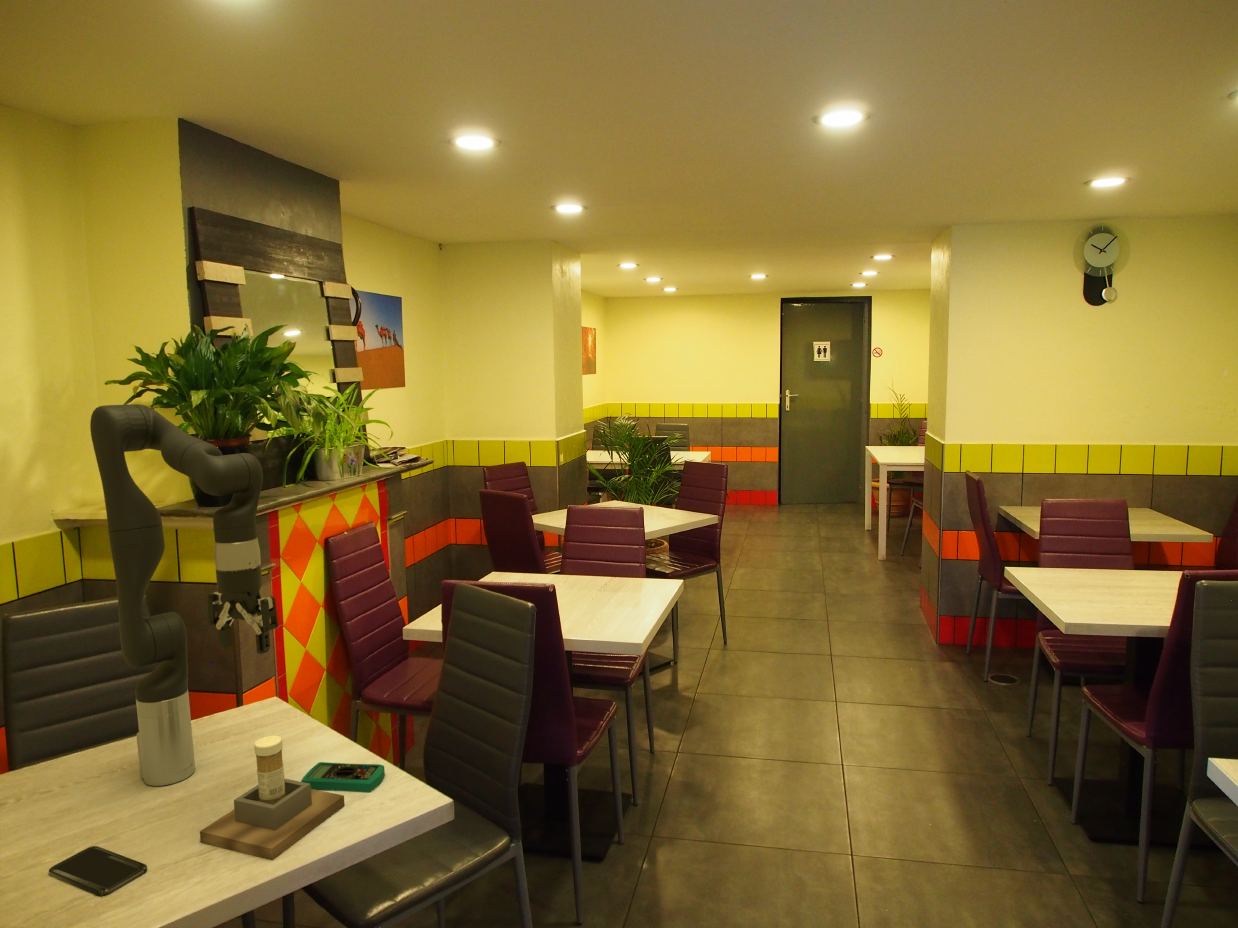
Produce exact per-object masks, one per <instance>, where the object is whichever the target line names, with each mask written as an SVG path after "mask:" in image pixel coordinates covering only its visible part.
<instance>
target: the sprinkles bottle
mask: <svg viewBox="0 0 1238 928" xmlns="http://www.w3.org/2000/svg"><path fill="white" fill-rule="evenodd" d="M253 748H254V754H255V757H256V767H257V769H256V772H257V774H256V775H257V785H258V788H259V797H260V802H263V803H267V804H272V805H274V804H275V803H277V802H278V801H280V800H281V799H283V798H284V797H286V796H285V779H286V778H285V771H284V763H283V762H284V761H283V740H282V737H281V736H278V735H267V736H264V737H261V738H259V739H257V740H256V741H254V746H253Z"/></svg>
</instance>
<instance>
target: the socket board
mask: <svg viewBox="0 0 1238 928" xmlns="http://www.w3.org/2000/svg"><path fill="white" fill-rule="evenodd" d="M311 798H312V805H310V806H309V807H308V808H306V809H305V810H303V811H302V812H301V813H299V814H298V815H296V816H295V817H294V818H292V819H291V820H289V821H288V822H287V823H285V824H284V825H282V826H281V827H280V828H278V829H277V830H271V829H267V828H262V827H258V826H254V825H249V824H245V823H241V822H236V821H235V809H234V808H233V809H231V811H228V812H227V813H226V814H224V815H223V816H221V817H220V818H218V819H217V820H215V821H213V822H211V823H210V824H208V825H207V826H205V827H204V828H202V829H201V830H199V838H200V839H199V840H200V843H202V844H207V845H211V846H214V847H215V846H216V847H219V848H223V849H225V850H231V851H235V852H239V853H243V854H245V855H246V854H247V855H250V856H251V855H252V856H256V857H259V858H263V859H267V860H270V861H271V860H272V861H273V860H275V859H276V858H277V857H279V855H281V854H283V853H284V852H285V851H287V850H288V849H289V848H290V847H292V846H293V845H294V844H296V843H297V842H298V841H299V840H301V839H302V838H304V837H305V836H306V835H308V834H309V833H311V831H313V830H314V829H316V828H317V827H318V826H320V825H321V824H322V823H323V822H325V821H326V820H327V819H329V818H330V817H332V816H333V815H334V814H335V813H337V812H338V811H339V810H341V809H342V808H343V807H344V806H345V795H343V794H339V793H333V792H328V791H326V790H315V789H311Z"/></svg>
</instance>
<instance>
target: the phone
mask: <svg viewBox="0 0 1238 928" xmlns="http://www.w3.org/2000/svg"><path fill="white" fill-rule="evenodd" d="M147 872H148V865H147V864H145V863H143V862H140V861H138V860H136V859H132V858H129V857H128V856H125V855H122V854H119V853H116V852H114V851H111V850H109V849H107V848H106V849H105V848H103V847H101V846H98V845H94V846H93V845H92V846H88V847H87V848H85V849H83V850H81V851H79V852H77V853H75V854H74V855H71V856H70V857H67V858H66V859H64V860H62V861H60V862H58V863H57V864H53V865H52V866H51V867H50V868H49V869H48V873H49V876H51V877H52V878H54V879H58V880H60V881H62V882H65V883H67V884H69V885H71V886H74V887H76V888H78V889H80V890H83V891H86V892H88V893H91V894H93V895H95V896H97V897H107V896H110V895H111V894H112V893H114V892H116V891H118V890H120V889H122V888H123V887H125V886H126V885H128V884H130V883H131V882H133V881H135V880H136V879H138V878H140V877H142V876H143V875H145V874H146V873H147Z"/></svg>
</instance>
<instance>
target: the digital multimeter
mask: <svg viewBox="0 0 1238 928" xmlns="http://www.w3.org/2000/svg"><path fill="white" fill-rule="evenodd" d="M384 777H385V766H384V765H383V764H378V763H375V764H374V763H373V764H372V763H371V764H370V763H344V762H343V763H340V762H328V761H327V762H325V761H319V762H317V763H316V764H315V765H314V766H313V767H312V768H311V769H310V770H308V771H307V772H306V773H305V775H304V776H303V777H302V778H301V780H300V782H304V783H309V784H311V789H315V790H320V791H340V792H341V791H342V792H360V793H371V792H372V791H374V790H375V789H376V788H377V787H379V786H380V784H381V783H382V782H383V780H384Z"/></svg>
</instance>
